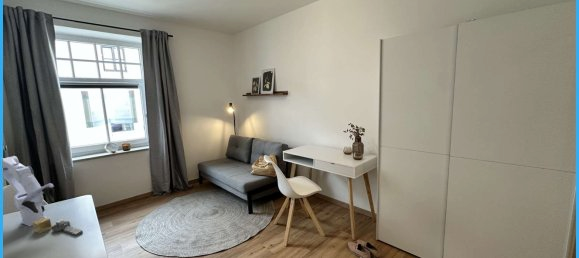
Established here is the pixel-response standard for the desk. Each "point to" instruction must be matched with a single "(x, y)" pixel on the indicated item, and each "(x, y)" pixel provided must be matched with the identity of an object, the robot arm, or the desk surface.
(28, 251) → the desk surface
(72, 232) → the ratchet
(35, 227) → the brushed gold cube
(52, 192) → the robot arm
